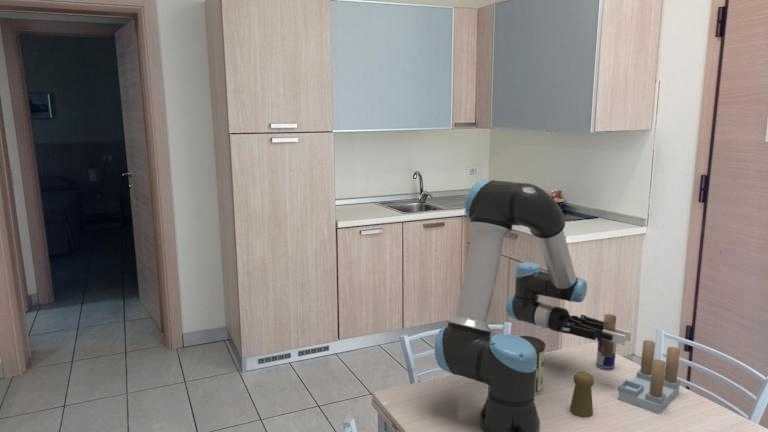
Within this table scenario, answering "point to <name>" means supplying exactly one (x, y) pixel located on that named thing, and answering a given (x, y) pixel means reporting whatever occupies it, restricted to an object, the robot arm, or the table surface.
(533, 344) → the coffee can
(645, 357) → the stool seat
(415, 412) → the table surface
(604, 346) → the stool leg
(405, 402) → the table surface
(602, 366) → the energy drink
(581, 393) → the cork
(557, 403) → the table surface
